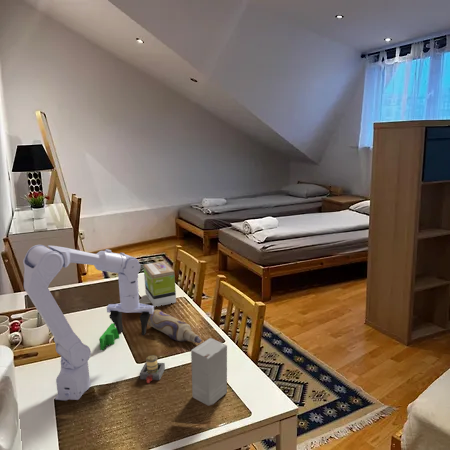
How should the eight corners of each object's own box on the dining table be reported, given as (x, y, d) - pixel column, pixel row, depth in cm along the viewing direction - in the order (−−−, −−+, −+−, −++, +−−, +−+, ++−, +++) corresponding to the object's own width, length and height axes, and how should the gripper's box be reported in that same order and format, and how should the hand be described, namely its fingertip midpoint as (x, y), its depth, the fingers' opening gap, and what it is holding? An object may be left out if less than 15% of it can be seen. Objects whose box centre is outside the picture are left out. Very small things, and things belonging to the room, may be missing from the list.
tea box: (144, 294, 189) (142, 263, 185) (166, 290, 193) (164, 260, 189) (154, 307, 175) (151, 274, 172) (176, 303, 179) (175, 270, 176)
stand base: (164, 386, 122) (164, 378, 122) (131, 384, 123) (130, 376, 123) (172, 367, 132) (172, 359, 131) (142, 365, 133) (141, 358, 132)
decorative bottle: (146, 329, 157) (145, 312, 156) (162, 322, 162) (161, 306, 161) (191, 354, 140) (190, 335, 138) (208, 345, 145) (207, 327, 143)
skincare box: (210, 385, 123) (209, 335, 119) (229, 394, 118) (228, 343, 114) (190, 399, 116) (188, 348, 112) (210, 410, 112) (208, 357, 108)
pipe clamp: (110, 351, 143) (109, 339, 141) (100, 350, 143) (99, 338, 142) (122, 334, 153) (121, 323, 152) (112, 334, 154) (111, 323, 153)
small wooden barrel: (156, 377, 126) (155, 361, 124) (145, 376, 126) (144, 361, 125) (159, 370, 129) (158, 355, 128) (149, 370, 129) (148, 355, 128)
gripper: (155, 288, 132) (157, 327, 136) (111, 287, 134) (114, 326, 137) (149, 297, 126) (152, 338, 129) (102, 296, 127) (106, 337, 130)
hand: (132, 333), depth 133 cm, fingers open, 7 cm apart
